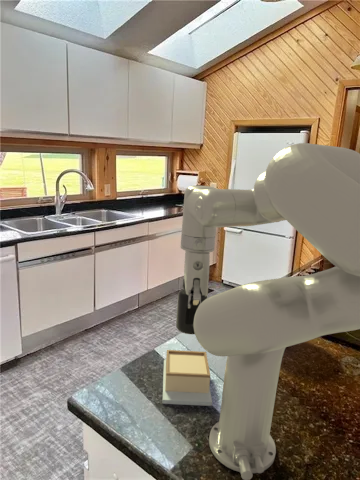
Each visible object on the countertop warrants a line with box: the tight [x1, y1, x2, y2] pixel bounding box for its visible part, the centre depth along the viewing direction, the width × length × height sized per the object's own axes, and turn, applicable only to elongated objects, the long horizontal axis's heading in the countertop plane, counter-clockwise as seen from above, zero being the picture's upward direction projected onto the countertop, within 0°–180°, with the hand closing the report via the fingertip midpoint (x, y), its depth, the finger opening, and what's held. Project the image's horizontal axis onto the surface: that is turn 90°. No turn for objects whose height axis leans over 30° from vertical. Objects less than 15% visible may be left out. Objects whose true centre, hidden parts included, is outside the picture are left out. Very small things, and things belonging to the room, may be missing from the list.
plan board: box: [161, 349, 213, 407], centre depth 85 cm, size 16×11×6 cm
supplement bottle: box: [175, 279, 208, 335], centre depth 81 cm, size 7×7×12 cm
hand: (191, 315), depth 82 cm, fingers closed on supplement bottle, 6 cm apart
